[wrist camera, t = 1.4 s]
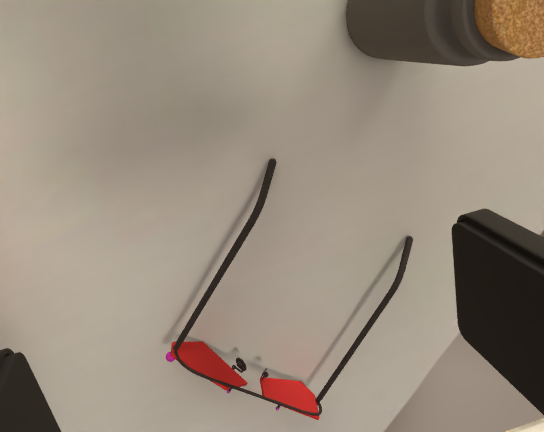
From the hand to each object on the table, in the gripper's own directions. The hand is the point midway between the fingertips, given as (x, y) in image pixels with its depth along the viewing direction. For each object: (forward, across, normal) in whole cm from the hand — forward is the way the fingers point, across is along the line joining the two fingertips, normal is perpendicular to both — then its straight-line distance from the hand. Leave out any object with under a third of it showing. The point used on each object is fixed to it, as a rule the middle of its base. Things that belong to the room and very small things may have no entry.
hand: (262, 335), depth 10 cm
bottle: (+25, -15, -4) cm, 30 cm away
